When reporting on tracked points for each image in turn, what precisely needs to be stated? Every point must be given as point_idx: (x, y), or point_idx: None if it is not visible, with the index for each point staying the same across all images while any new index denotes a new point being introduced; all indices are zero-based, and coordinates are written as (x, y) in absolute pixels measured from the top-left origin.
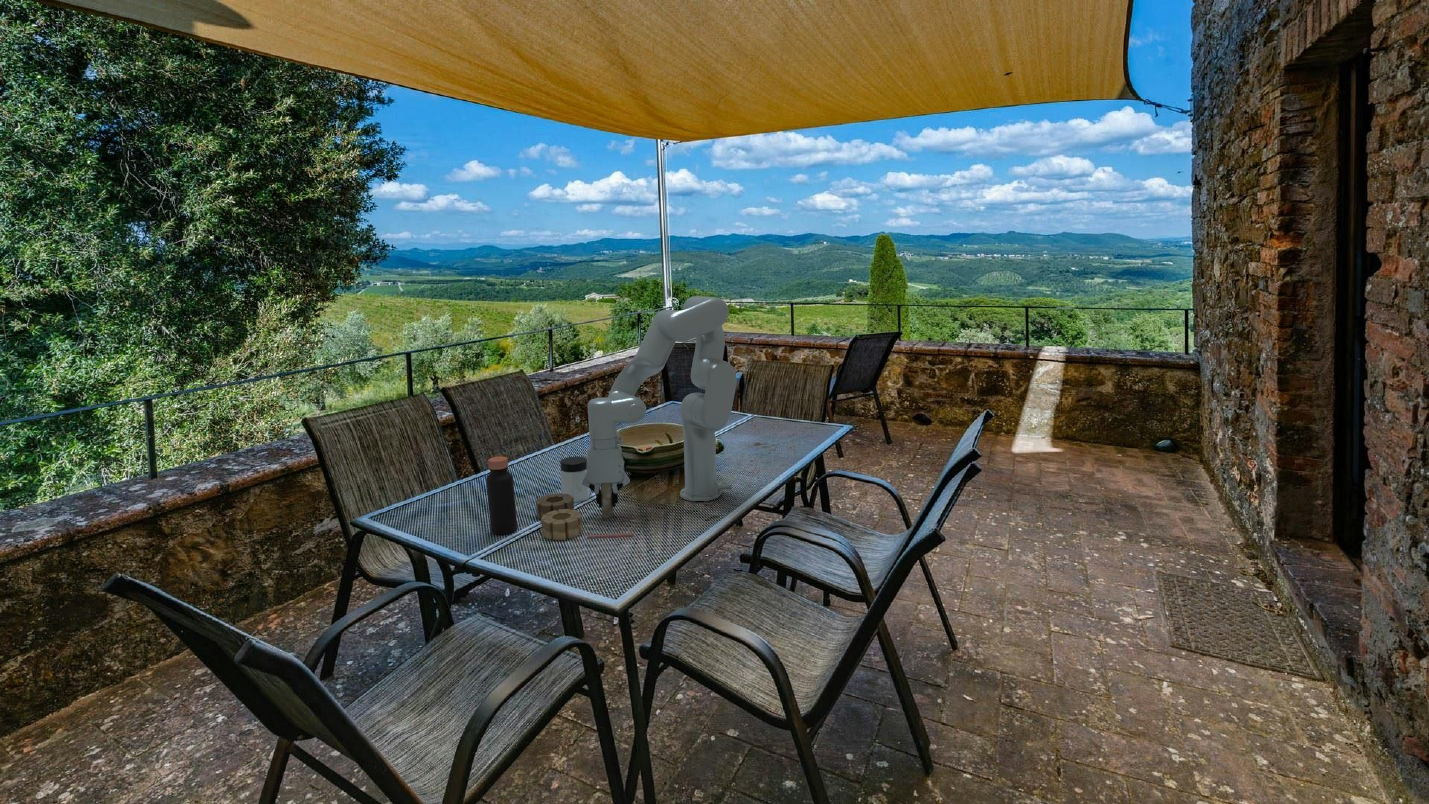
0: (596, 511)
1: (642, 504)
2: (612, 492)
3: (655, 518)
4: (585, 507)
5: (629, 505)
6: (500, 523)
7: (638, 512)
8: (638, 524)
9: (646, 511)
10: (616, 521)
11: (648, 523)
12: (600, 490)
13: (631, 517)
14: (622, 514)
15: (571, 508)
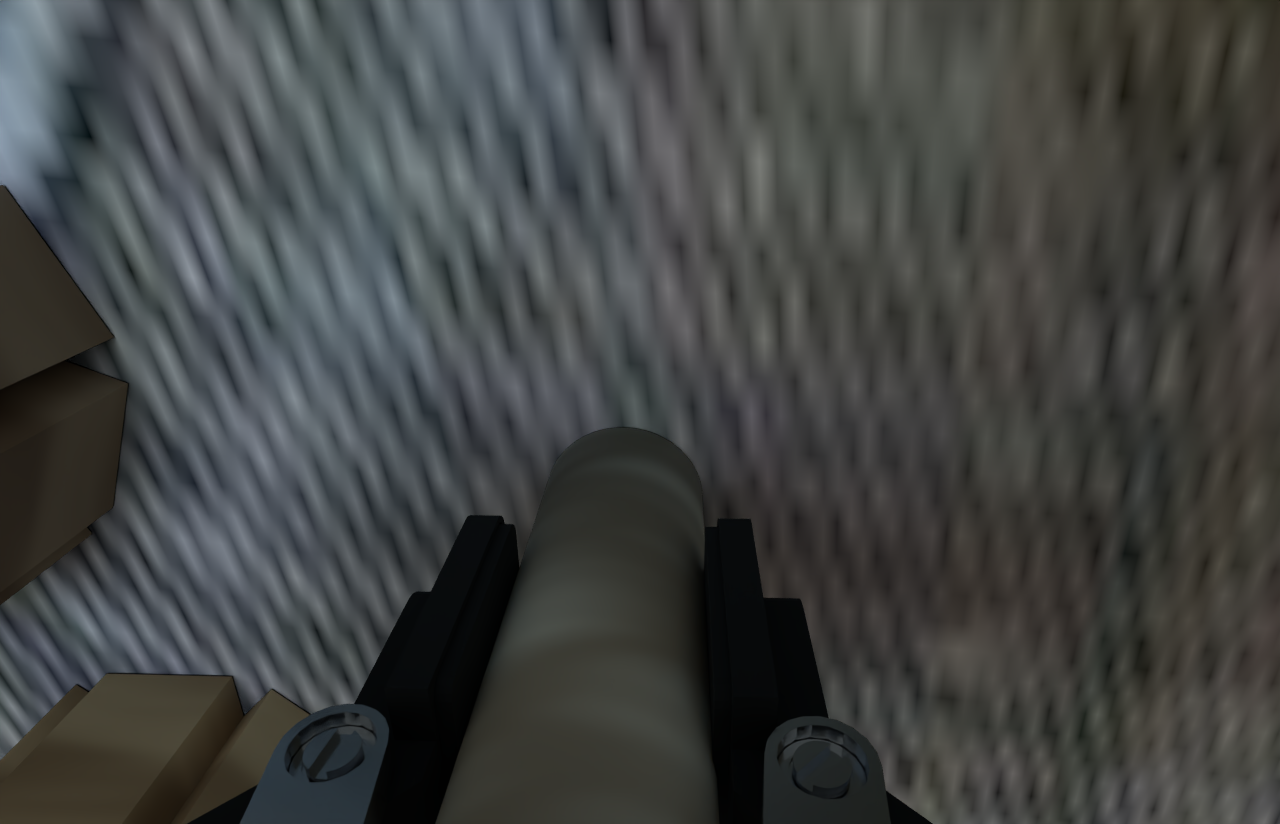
0: (424, 307)
1: (1205, 55)
2: (718, 785)
3: (1251, 631)
4: (191, 106)
5: (956, 85)
6: None
7: (1064, 415)
8: (1004, 754)
9: (1194, 391)
10: None
11: (1125, 744)
12: (428, 809)
13: (942, 568)
14: (823, 460)
15: (41, 484)
